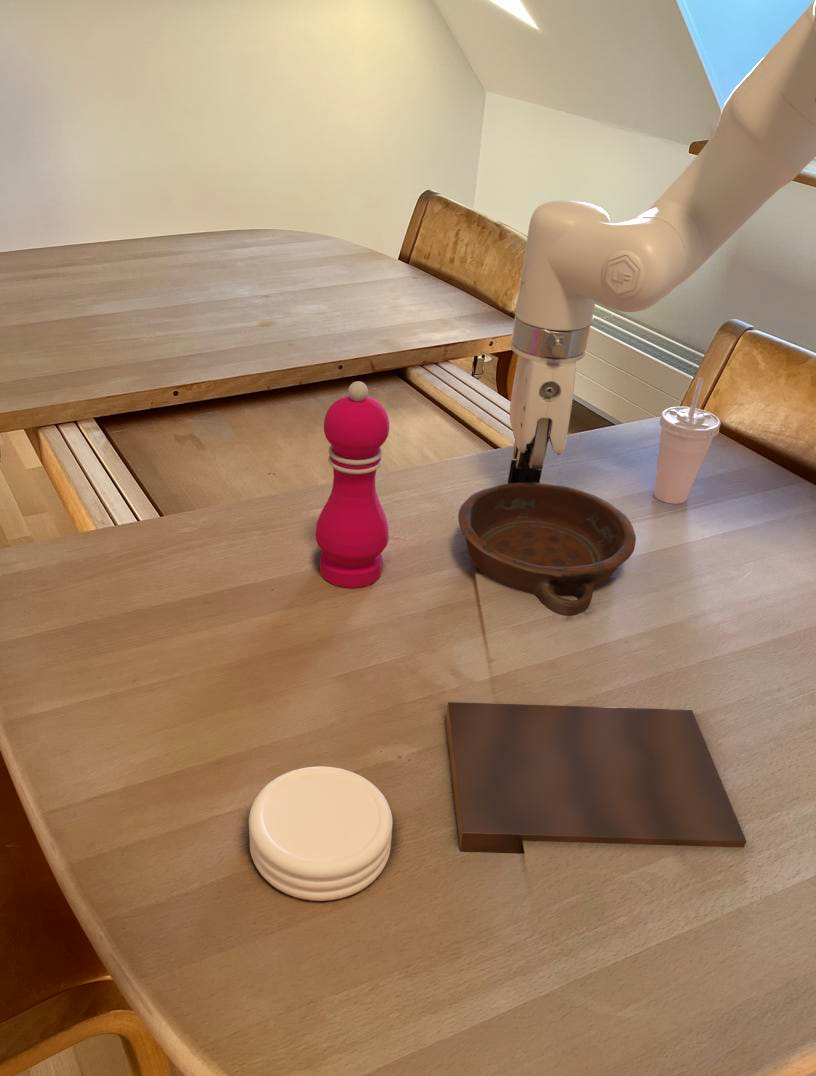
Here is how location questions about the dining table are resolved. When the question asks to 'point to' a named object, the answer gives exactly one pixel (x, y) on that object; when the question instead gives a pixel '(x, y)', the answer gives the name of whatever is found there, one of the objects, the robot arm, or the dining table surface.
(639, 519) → the dining table surface
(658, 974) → the dining table surface
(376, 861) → the coaster
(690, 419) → the smoothie
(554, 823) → the cutting board
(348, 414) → the pepper mill
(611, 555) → the dish
